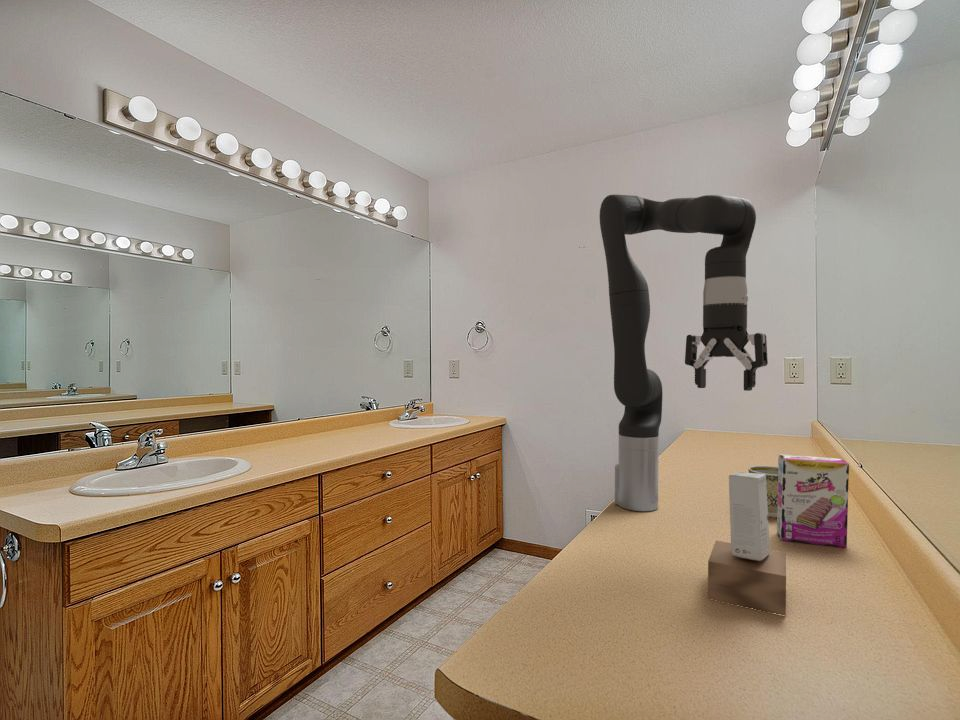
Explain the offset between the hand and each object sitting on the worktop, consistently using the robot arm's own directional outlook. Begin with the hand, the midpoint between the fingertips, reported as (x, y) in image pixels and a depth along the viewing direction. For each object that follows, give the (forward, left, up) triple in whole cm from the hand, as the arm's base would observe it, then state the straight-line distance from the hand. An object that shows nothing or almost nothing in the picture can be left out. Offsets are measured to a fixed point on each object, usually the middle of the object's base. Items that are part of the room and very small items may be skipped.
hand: (724, 389), depth 96 cm
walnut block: (+10, -16, -30) cm, 36 cm away
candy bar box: (+10, +17, -30) cm, 36 cm away
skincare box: (+11, -16, -24) cm, 31 cm away
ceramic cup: (0, +31, -30) cm, 43 cm away
